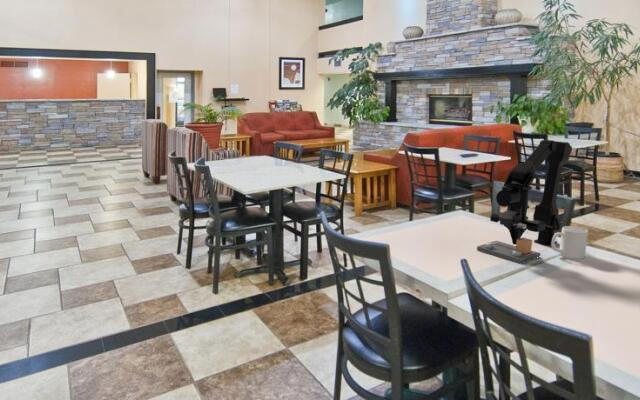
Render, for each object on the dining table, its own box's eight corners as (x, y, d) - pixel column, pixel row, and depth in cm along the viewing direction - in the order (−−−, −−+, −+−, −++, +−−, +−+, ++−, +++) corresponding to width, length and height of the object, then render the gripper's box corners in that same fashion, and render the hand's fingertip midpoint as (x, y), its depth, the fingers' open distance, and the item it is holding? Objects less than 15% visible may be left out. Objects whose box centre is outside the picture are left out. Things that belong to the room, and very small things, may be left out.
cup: (589, 260, 174) (592, 232, 172) (555, 260, 174) (558, 232, 171) (576, 252, 182) (580, 226, 180) (544, 252, 182) (547, 225, 180)
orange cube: (521, 248, 180) (523, 237, 179) (531, 251, 177) (532, 239, 176) (515, 251, 177) (516, 239, 176) (524, 253, 175) (526, 241, 174)
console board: (496, 244, 191) (496, 236, 190) (539, 257, 177) (540, 249, 176) (476, 250, 184) (477, 242, 183) (521, 263, 170) (522, 255, 169)
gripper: (482, 200, 179) (479, 241, 182) (530, 211, 164) (526, 255, 168) (500, 196, 185) (497, 236, 189) (548, 206, 171) (543, 249, 174)
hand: (514, 244), depth 180 cm, fingers closed
